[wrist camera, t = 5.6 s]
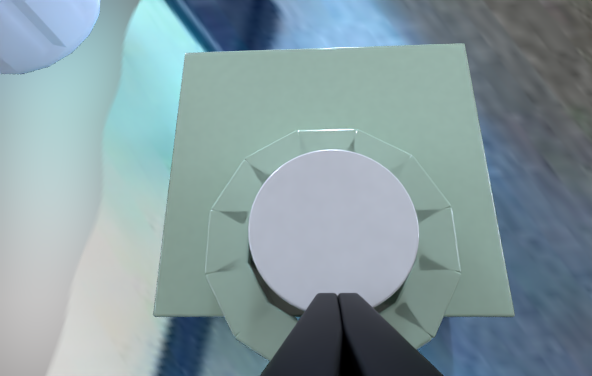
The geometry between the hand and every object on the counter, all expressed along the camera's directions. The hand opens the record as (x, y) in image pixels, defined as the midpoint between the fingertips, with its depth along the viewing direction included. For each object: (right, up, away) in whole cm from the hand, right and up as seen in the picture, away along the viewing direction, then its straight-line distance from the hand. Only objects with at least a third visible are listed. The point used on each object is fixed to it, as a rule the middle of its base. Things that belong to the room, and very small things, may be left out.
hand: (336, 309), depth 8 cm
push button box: (0, +1, +11) cm, 11 cm away
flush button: (0, +1, +3) cm, 3 cm away
